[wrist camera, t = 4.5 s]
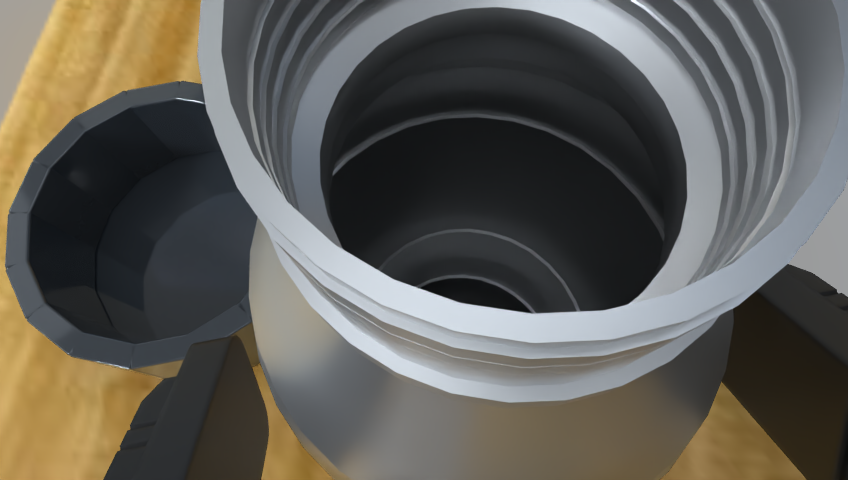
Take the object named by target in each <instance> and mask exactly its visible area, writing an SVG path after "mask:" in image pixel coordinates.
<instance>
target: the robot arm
mask: <svg viewBox="0 0 848 480" xmlns="http://www.w3.org/2000/svg"><path fill="white" fill-rule="evenodd" d="M733 315H734V324H733V330H732V336H731V342H730V348H729V354H728V360H727V367H726V371H725V373H724V376H723V378H722V382H723V383H724V385H725V386H726V387H727V388H728V389H729V390H730V392H731V393H732V394H733V395H734V396H735V397H736V398H737V400H738V401H739V402H740V403H741V404H742V405H743V406H744V408H745V409H746V410H747V411H748V412H749V413H750V415H751V416H752V417H753V418H754V419H755V420H756V421H757V423H758V424H759V425H760V426H761V427H762V428H763V429H764V431H765V432H766V433H767V434H768V435H769V436H770V438H771V439H772V440H773V441H774V442H775V443H776V444H777V446H778V447H779V448H780V449H781V450H782V451H783V452H784V454H785V455H786V456H787V457H788V458H789V459H790V461H791V462H792V463H793V464H794V465H795V466H796V467H797V469H798V470H799V471H800V472H801V473H802V474H803V475H804V477H805V478H806V479H807V480H848V297H847V296H845V295H844V294H842V293H840V294H838V293H837V290H836V289H835V288H834V287H832V286H831V285H829V284H828V283H826V282H825V281H823V280H822V279H820V278H819V277H818V276H816V275H815V274H813V273H811V272H808V271H806V270H803V269H800V268H797V267H795V266H792V265H789V264H787V265H786V266H785V267H783V268H782V269H781V270H780V271H779V272H777V273H776V274H775V275H774V276H773V277H772V278H770V279H769V280H768V281H767V282H766V283H764V284H763V285H762V286H761V287H760V288H758V289H757V290H756V291H755V292H754V293H753V294H751V295H750V296H749V297H748V298H747V299H745V300H744V301H743V302H742V303H741V304H740V305H738V306H736V307H735V308H733ZM130 428H131V429H130V430H128V431H127V433H126V435H125V437H124V439H123V441H122V443H121V445H120V451H117V453H116V455H115V457H114V459H113V461H112V463H111V465H110V467H109V469H108V471H107V473H106V475H105V477H104V479H103V480H261V476H262V471H263V466H264V460H265V455H266V450H267V444H268V437H269V425H268V416H267V411H266V407H265V403H264V400H263V398H262V395H261V392H260V389H259V386H258V384H257V381H256V378H255V375H254V372H253V369H252V367H251V364H250V361H249V358H248V355H247V352H246V350H245V347H244V344H243V342H242V341H241V339H240V338H239V337H238V336H236V335H234V336H229V337H224V338H219V339H213V340H208V341H203V342H198V343H193V344H192V345H191V346H190V347H189V349H188V351H187V353H186V356H185V358H184V360H183V363H182V365H181V367H180V369H179V372H178V374H177V376H175V377H169V378H164V379H163V380H162V381H161V382H160V383H159V384H158V385H157V386H156V387H155V389H154V390H153V391H152V392H151V393H150V394H149V395H148V396H147V397H146V398H145V399H144V400H143V401H142V402H141V404H140V406H139V408H138V410H137V412H136V414H135V416H134V418H133V420H132V423H131V425H130Z"/></svg>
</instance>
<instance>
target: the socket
mask: <svg viewBox="0 0 848 480" xmlns="http://www.w3.org/2000/svg"><path fill="white" fill-rule="evenodd" d="M9 213H10V214H8V225H7V242H6V260H5V267H6V273H7V275H8V277H9V280H10V282H11V285H12V287H13V289H14V292H15V294H16V297H17V299H18V301H19V304H20V306H21V309H22V311H23V314H24V316H25V318H26V319H27V321H28V322H29V323H30V324H31V325H32V326H34V327H35V328H36V329H37V330H38V331H40V332H41V333H42V334H43V335H45V336H46V337H47V338H48V339H49V340H51V341H52V342H53V343H54V344H56V345H57V346H58V347H59V348H60V349H62V350H63V351H64V352H65V353H66V354H68V355H70V356H71V357H74V358H78V359H82V360H86V361H90V362H94V363H98V364H102V365H106V366H111V367H115V368H119V369H123V370H127V371H131V372H135V373H139V374H144V375H148V376H153V377H157V378H161V379H164V378H169V377H175V376H177V374H178V372H179V369H180V367H181V365H182V363H183V360H184V358H185V356H186V353H187V351H188V349H189V347H190V346H191V345H192V344H193V343H198V342H203V341H208V340H213V339H219V338H224V337H229V336H234V335H236V336H238V337H239V338H240V339H241V341H242V342H243V344H244V347H245V350H246V352H247V355H248V358H249V361H250V364H251V367H254V366H256V365H257V364H259V363H260V361H259V356H258V350H257V344H256V339H255V333H254V327H253V321H252V315H251V309H250V302H249V271H250V249H251V245H252V240H253V236H254V232H255V227H256V223H257V219H258V216H257V215H256V214H255V212H254V211H253V209H252V208H251V207H250V205H249V204H248V202H247V201H246V199H245V198H244V197H243V195H242V194H241V192H240V191H239V189H238V188H237V186H236V183H235V181H234V179H233V176H232V174H231V171H230V169H229V167H228V164H227V162H226V159H225V157H224V154H223V152H222V150H221V147H220V145H219V142H218V140H217V138H216V135H215V132H214V128H213V125H212V123H211V120H210V118H209V116H208V113H207V110H206V104H205V98H204V92H203V86H202V84H198V83H192V82H186V81H181V82H180V81H176V82H170V83H165V84H159V85H154V86H148V87H143V88H137V89H132V90H127V91H123V92H121V93H119V94H117V95H115V96H113V97H111V98H109V99H108V100H106V101H104V102H102V103H100V104H98V105H96V106H95V107H93V108H91V109H89V110H87V111H85V112H83V113H81V114H80V115H78V116H76V117H74V118H73V119H72V120H71V121H70V122H69V123H68V124H67V125H66V126H65V127H64V128H63V129H62V130H61V131H60V132H59V133H58V134H57V135H56V136H55V137H54V138H53V139H52V141H51V142H50V143H49V144H48V145H47V146H46V147H45V148H44V149H43V150H42V151H41V152H40V153H39V154H38V155H37V156H36V157H35V158H34V159H33V162H32V163H31V165H30V167H29V169H28V172H27V174H26V176H25V178H24V180H23V182H22V184H21V186H20V189H19V191H18V193H17V195H16V197H15V199H14V201H13V203H12V206H11V208H10V210H9Z"/></svg>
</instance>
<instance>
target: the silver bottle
mask: <svg viewBox="0 0 848 480" xmlns="http://www.w3.org/2000/svg"><path fill="white" fill-rule="evenodd" d="M197 56H198V62H199V68H200V74H201V80H202V86H203V92H204V98H205V104H206V110H207V113H208V116H209V118H210V120H211V123H212V125H213V128H214V132H215V135H216V138H217V140H218V142H219V145H220V147H221V150H222V152H223V154H224V157H225V159H226V162H227V164H228V167H229V169H230V171H231V174H232V176H233V179H234V181H235V183H236V186H237V188H238V189H239V191H240V192H241V194H242V195H243V197H244V198H245V199H246V201H247V202H248V204H249V205H250V207H251V208H252V209H253V211H254V212H255V214H256V215H257V216H258V219H257V223H256V227H255V232H254V236H253V240H252V245H251V249H250V271H249V302H250V309H251V315H252V321H253V327H254V333H255V339H256V344H257V350H258V356H259V361H260V364H261V366H262V369H263V371H264V374H265V377H266V379H267V382H268V384H269V387H270V390H271V392H272V395H273V397H274V400H275V403H276V405H277V407H278V408H279V410H280V412H281V413H282V415H283V416H284V418H285V419H286V421H287V423H288V424H289V426H290V427H291V429H292V430H293V432H294V434H295V435H296V437H297V438H298V440H299V442H300V443H301V445H302V446H303V448H304V449H305V450H306V451H307V452H308V453H309V454H310V455H311V456H312V457H313V458H314V459H315V460H316V461H317V462H318V463H319V464H320V465H321V466H322V468H323V469H324V470H325V471H326V472H327V473H328V474H329V475H330V476H331V477H332V478H333V479H334V480H660V479H661V478H662V477H663V476H664V475H665V474H667V473H668V472H669V470H670V469H671V467H672V466H673V465H674V463H675V462H676V460H677V459H678V458H679V456H680V455H681V453H682V452H683V450H684V449H685V448H686V446H687V445H688V443H689V442H690V440H691V439H692V438H693V436H694V435H695V433H696V432H697V430H698V429H699V427H700V426H701V425H702V423H703V422H704V420H705V419H706V417H707V416H708V413H709V411H710V408H711V406H712V403H713V401H714V398H715V396H716V393H717V391H718V388H719V386H720V383H721V381H722V378H723V376H724V373H725V371H726V367H727V360H728V354H729V348H730V342H731V336H732V330H733V324H734V315H733V308H735V307H736V306H738V305H740V304H741V303H742V302H743V301H744V300H745V299H747V298H748V297H749V296H750V295H751V294H753V293H754V292H755V291H756V290H757V289H758V288H760V287H761V286H762V285H763V284H764V283H766V282H767V281H768V280H769V279H770V278H772V277H773V276H774V275H775V274H776V273H777V272H779V271H780V270H781V269H782V268H783V267H785V266H786V265H787V264H788V263H789V262H790V261H791V259H792V258H793V257H794V255H795V254H796V252H797V251H798V250H799V248H800V247H801V246H803V245H804V244H805V243H806V242H807V240H808V239H809V238H810V236H811V235H812V233H813V232H814V230H815V229H816V228H817V226H818V225H819V223H820V222H821V221H822V219H823V218H824V217H825V215H826V214H827V212H828V211H829V210H830V208H831V207H832V205H833V204H834V203H835V201H836V200H837V198H838V197H839V196H840V194H841V193H842V191H843V190H844V187H845V185H846V182H847V179H848V0H202V1H201V9H200V24H199V39H198V55H197Z"/></svg>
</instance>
